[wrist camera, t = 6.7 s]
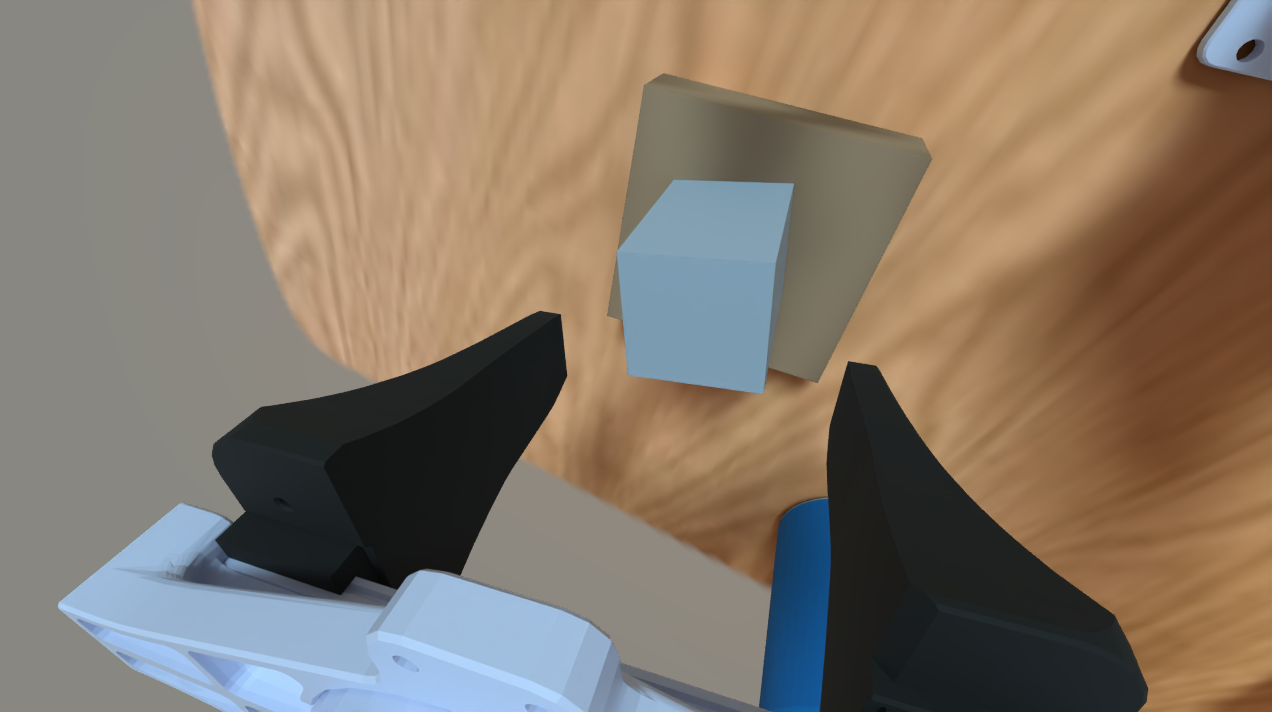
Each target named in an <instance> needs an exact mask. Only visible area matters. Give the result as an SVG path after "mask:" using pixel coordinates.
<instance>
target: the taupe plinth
mask: <svg viewBox="0 0 1272 712" xmlns="http://www.w3.org/2000/svg"><path fill="white" fill-rule="evenodd" d="M931 160H932V158H931V156H930V154H929V151H928V149H927V147H926V145H925V143H924V141H923V139H922V138H918V137H914V136H910V135H906V134H902V133H898V132H894V131H890V130H887V129H883V128H879V127H875V126H871V125H867V124H863V123H859V122H855V121H851V120H847V119H843V118H839V117H835V116H831V115H827V114H823V113H819V112H815V111H811V110H807V109H803V108H799V107H795V106H791V105H787V104H783V103H779V102H775V101H771V100H767V99H763V98H759V97H755V96H751V95H748V94H744V93H740V92H736V91H732V90H728V89H724V88H720V87H716V86H712V85H708V84H704V83H700V82H696V81H692V80H688V79H684V78H680V77H676V76H672V75H668V74H664V73H663V74H662V75H660V76H658V77H657V78H655V79H653V80H652V81H650V82H648V83H647V84H645V85H644V89H643V96H642V102H641V108H640V114H639V121H638V127H637V133H636V139H635V145H634V152H633V158H632V164H631V170H630V177H629V183H628V189H627V195H626V202H625V208H624V214H623V220H622V226H621V233H620V239H619V245H618V249H619V248H620V247H621V246H622V244H623V243H624V242H625V241H626V239H627V238H628V237H629V236H630V234H631V233H632V232H633V231H634V229H635V228H636V227H637V225H638V224H639V223H640V222H641V220H642V219H643V218H644V217H645V215H646V214H647V213H648V212H649V210H650V209H651V208H652V207H653V205H654V204H655V203H656V202H657V200H658V199H659V198H660V197H661V195H662V194H663V193H664V192H665V190H666V189H667V188H668V187H669V185H670V184H671V183H672V182H673V180H696V181H729V182H762V183H794V189H793V198H792V208H791V217H790V227H789V236H788V246H787V255H786V265H785V275H784V284H783V293H782V299H781V304H780V309H779V315H778V320H777V325H776V331H775V336H774V341H773V346H772V352H771V357H770V362H769V368H772V369H775V370H778V371H781V372H784V373H787V374H791V375H794V376H797V377H800V378H803V379H806V380H809V381H812V382H816V383H818V381H819V379H820V377H821V375H822V373H823V372H824V370H825V368H826V366H827V364H828V362H829V360H830V358H831V356H832V354H833V352H834V350H835V348H836V346H837V344H838V342H839V340H840V338H841V336H842V334H843V332H844V330H845V328H846V326H847V325H848V323H849V321H850V319H851V317H852V315H853V313H854V311H855V309H856V307H857V305H858V303H859V301H860V299H861V297H862V295H863V293H864V291H865V289H866V287H867V285H868V283H869V281H870V280H871V278H872V276H873V274H874V272H875V270H876V268H877V266H878V264H879V262H880V260H881V258H882V256H883V254H884V252H885V250H886V248H887V246H888V244H889V242H890V240H891V238H892V236H893V235H894V233H895V231H896V229H897V227H898V225H899V223H900V221H901V219H902V217H903V215H904V213H905V211H906V209H907V207H908V205H909V203H910V201H911V199H912V197H913V195H914V193H915V191H916V189H917V188H918V186H919V184H920V182H921V180H922V178H923V176H924V174H925V172H926V170H927V168H928V166H929V164H930V162H931ZM607 316H610V317H613V318H616V319H619V320H622V321H623V315H622V304H621V293H620V282H619V271H618V260H617V258H616V264H615V270H614V276H613V282H612V289H611V295H610V301H609V307H608V314H607Z"/></svg>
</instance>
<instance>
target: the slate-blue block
mask: <svg viewBox="0 0 1272 712" xmlns="http://www.w3.org/2000/svg"><path fill="white" fill-rule="evenodd" d="M793 189H794V183H762V182H729V181H696V180H673V182H672V183H671V184H670V185H669V187H668V188H667V189H666V190H665V192H664V193H663V194H662V195H661V197H660V198H659V199H658V200H657V202H656V203H655V204H654V205H653V207H652V208H651V209H650V210H649V212H648V213H647V214H646V215H645V217H644V218H643V219H642V220H641V222H640V223H639V224H638V225H637V227H636V228H635V229H634V231H633V232H632V233H631V234H630V236H629V237H628V238H627V239H626V241H625V242H624V243H623V244H622V246H621V247H620V248H619V249H618V251H617V260H618V271H619V282H620V293H621V304H622V315H623V326H624V337H625V348H626V359H627V369H628V375H630V376H637V377H645V378H652V379H659V380H666V381H673V382H680V383H687V384H695V385H702V386H709V387H716V388H723V389H730V390H738V391H745V392H752V393H759V394H764V389H765V384H766V378H767V373H768V368H769V362H770V357H771V352H772V346H773V341H774V336H775V331H776V325H777V320H778V315H779V309H780V304H781V299H782V293H783V284H784V275H785V265H786V255H787V246H788V236H789V227H790V217H791V208H792V198H793Z"/></svg>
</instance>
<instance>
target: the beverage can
mask: <svg viewBox="0 0 1272 712" xmlns="http://www.w3.org/2000/svg"><path fill="white" fill-rule="evenodd" d="M830 566H831V544H830V525H829V505H828V497H824V498H818V499H814V500H810V501H806V502H803V503H801V504H798V505H797V506H795V507H793V508H791V509H790V510H789V511H788V512H787V513H786V514H785V515H784V516H783V517H782V519H781V521H780V524H779V527H778V536H777V545H776V554H775V564H774V573H773V582H772V591H771V601H770V610H769V619H768V629H767V639H766V647H765V657H764V667H763V676H762V685H761V695H760V704H759V708H762V709H765V710H768V711H771V712H820V701H821V691H822V679H823V667H824V655H825V642H826V628H827V614H828V600H829V583H830Z"/></svg>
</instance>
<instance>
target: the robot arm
mask: <svg viewBox="0 0 1272 712" xmlns="http://www.w3.org/2000/svg"><path fill="white" fill-rule="evenodd" d="M1253 39H1254V40H1255V45H1256V46H1255V48H1254V50H1253V52H1251V53H1250V54H1249V55H1248V56H1247V57H1245V58H1243V59H1241V60H1237V58H1236V54H1237V52H1238V50H1239V48H1240V47H1241V46H1242V45H1243V44H1244V43H1246V42H1248V41H1250V40H1253ZM1197 58H1198V60H1199V62H1200V63H1202V64H1204V65H1206V66H1210V67H1213V68H1218V69H1222V70H1227V71H1231V72H1235V73H1240V74H1244V75H1249V76H1253V77H1257V78H1262V79H1266V80H1271V81H1272V0H1231V1H1230V2H1229V4H1228V5H1227V6H1226V8H1225V9H1224V11H1223V12H1222V13H1221V15H1220V16H1219V17H1218V19H1217V20H1216V21H1215V23H1214V24H1213V26H1212V27H1211V28H1210V30H1209V31H1208V32H1207V34H1206V35H1205V36H1204V38H1203V39H1202V41H1201V42H1200V44H1199V46H1198V48H1197ZM566 377H567V369H566V359H565V350H564V340H563V331H562V321H561V314H556V313H549V312H543V311H539V312H536V313H534V314H532V315H530V316H528V317H526V318H524V319H522V320H520V321H518V322H516V323H514V324H512V325H510V326H509V327H507V328H505V329H503V330H501V331H499V332H497V333H495V334H494V335H492V336H490V337H488V338H486V339H484V340H482V341H480V342H478V343H476V344H474V345H472V346H470V347H468V348H466V349H464V350H462V351H460V352H458V353H456V354H453V355H451V356H449V357H447V358H445V359H443V360H441V361H438V362H436V363H433V364H431V365H429V366H426V367H424V368H421V369H418V370H416V371H413V372H410V373H408V374H405V375H402V376H399V377H396V378H392V379H389V380H386V381H383V382H379V383H376V384H373V385H370V386H366V387H363V388H359V389H355V390H351V391H347V392H343V393H338V394H334V395H329V396H325V397H320V398H315V399H310V400H304V401H298V402H291V403H285V404H279V405H272V406H265V407H261V408H259V409H258V410H256V411H255V412H254V413H252V414H251V415H250V416H249V417H247V418H246V419H245V420H244V421H242V422H241V423H240V424H239V425H237V426H236V427H235V428H233V429H232V430H231V431H230V432H228V433H227V434H226V435H225V436H223V437H222V438H220V439H219V440H218V441H217V442H215V443H214V445H213V450H212V457H213V461H214V465H215V466H216V468H217V470H218V472H219V474H220V475H221V477H222V478H223V480H224V481H225V483H226V484H227V485H228V487H229V488H230V490H231V491H232V493H233V494H234V495H235V497H236V498H237V500H238V501H239V503H240V504H241V506H242V507H243V509H244V510H245V511H246V512H245V513H244V514H243V515H241V516H240V517H239V518H238V519H237V520H236V521H235V522H234V523H233V522H232V521H231V520H230V519H228V518H227V517H225V516H223V515H221V514H219V513H216V512H213V511H210V510H207V509H204V508H200V507H197V506H194V505H191V504H187V503H180V504H179V505H178V506H176V507H175V508H174V509H173V510H172V511H170V512H169V513H168V514H167V515H165V516H164V517H163V518H162V519H160V520H159V521H158V522H157V523H156V524H155V525H153V526H152V527H151V528H149V529H148V530H147V531H146V532H145V533H143V534H142V535H141V536H140V537H139V538H137V539H136V540H135V541H134V542H132V543H131V544H130V545H129V546H127V547H126V548H125V549H124V550H123V551H121V552H120V553H119V554H118V555H116V556H115V557H114V558H113V559H112V560H110V561H109V562H108V563H107V564H105V565H104V566H103V567H102V568H101V569H99V570H98V571H97V572H96V573H94V574H93V575H92V576H91V577H90V578H88V579H87V580H86V581H85V582H83V583H82V584H81V585H80V586H78V587H77V588H76V589H75V590H74V591H72V592H71V593H70V594H69V595H68V596H66V597H65V598H64V599H63V600H61V601H60V602H59V606H58V609H60V610H61V611H62V612H63V613H65V614H66V615H67V616H68V617H69V618H71V619H72V620H73V621H74V622H76V623H77V624H78V625H79V626H81V627H82V628H83V629H84V630H85V631H87V632H88V633H89V634H90V635H91V636H93V637H94V638H95V639H96V640H98V641H99V642H100V643H101V644H102V645H104V646H105V647H106V648H107V649H109V650H110V651H111V652H112V653H114V654H115V655H116V656H117V657H119V658H120V659H121V660H122V661H123V662H124V663H126V664H127V665H128V666H130V667H131V668H132V669H134V670H136V671H138V672H140V673H143V674H145V675H148V676H150V677H152V678H154V679H156V680H158V681H161V682H163V683H165V684H167V685H170V686H172V687H174V688H176V689H178V690H180V691H182V692H184V693H186V694H189V695H191V696H193V697H195V698H197V699H199V700H201V701H203V702H205V703H207V704H209V705H211V706H213V707H215V708H217V709H219V710H221V711H223V712H771V711H768V710H765V709H762V708H759V707H756V706H753V705H750V704H747V703H744V702H740V701H738V700H735V699H731V698H728V697H725V696H722V695H719V694H716V693H713V692H710V691H707V690H704V689H701V688H698V687H695V686H691V685H688V684H685V683H682V682H679V681H676V680H673V679H670V678H666V677H664V676H661V675H657V674H655V673H651V672H648V671H645V670H642V669H639V668H636V667H633V666H630V665H627V664H624V663H621V662H620V656H619V654H618V652H617V650H616V648H615V646H614V644H613V642H612V640H611V638H610V637H609V635H608V634H607V633H606V632H605V631H603V630H602V629H601V628H600V627H598V626H597V625H596V624H595V623H593V622H592V621H591V620H590V619H588V618H586V617H583V616H581V615H579V614H577V613H575V612H572V611H570V610H567V609H566V608H563V607H560V606H557V605H554V604H550V603H547V602H544V601H540V600H538V599H534V598H531V597H527V596H524V595H521V594H518V593H515V592H512V591H508V590H505V589H501V588H499V587H495V586H492V585H489V584H485V583H482V582H479V581H476V580H472V579H469V578H466V577H463V576H460V575H461V573H462V570H463V568H464V565H465V563H466V561H467V559H468V557H469V554H470V552H471V550H472V547H473V545H474V543H475V541H476V539H477V537H478V534H479V532H480V530H481V528H482V526H483V524H484V522H485V520H486V518H487V515H488V513H489V511H490V509H491V507H492V505H493V503H494V501H495V499H496V497H497V495H498V494H499V491H500V490H501V488H502V486H503V484H504V482H505V480H506V478H507V477H508V475H509V473H510V472H511V470H512V468H513V467H514V465H515V464H516V462H517V461H518V459H519V458H520V456H521V455H522V453H523V452H524V450H525V449H526V447H527V446H528V444H529V443H530V441H531V440H532V438H533V437H534V435H535V434H536V432H537V431H538V429H539V427H540V426H541V424H542V423H543V421H544V420H545V418H546V417H547V415H548V414H549V412H550V410H551V409H552V407H553V405H554V403H555V401H556V399H557V397H558V395H559V393H560V391H561V389H562V386H563V384H564V382H565V380H566ZM827 485H828V505H829V525H830V544H831V566H830V583H829V600H828V614H827V628H826V642H825V655H824V667H823V679H822V691H821V701H820V712H1138V711H1139V710H1140V709H1141V708H1142V707H1143V705H1144V704H1145V703H1146V702H1147V694H1148V687H1147V685H1146V682H1145V680H1144V678H1143V675H1142V673H1141V670H1140V668H1139V666H1138V663H1137V660H1136V658H1135V656H1134V653H1133V651H1132V649H1131V646H1130V644H1129V642H1128V640H1127V638H1126V636H1125V634H1124V633H1123V631H1122V629H1121V627H1120V625H1119V623H1118V621H1117V619H1116V617H1115V615H1114V614H1112V613H1111V612H1109V611H1108V610H1107V609H1105V608H1104V607H1102V606H1101V605H1100V604H1098V603H1097V602H1095V601H1094V600H1093V599H1091V598H1090V597H1089V596H1087V595H1086V594H1084V593H1083V592H1082V591H1080V590H1079V589H1077V588H1076V587H1075V586H1073V585H1072V584H1070V583H1069V582H1068V581H1066V580H1065V579H1063V578H1062V577H1061V576H1059V575H1058V574H1057V573H1055V572H1054V571H1053V570H1052V569H1050V568H1049V567H1048V566H1047V565H1045V564H1044V563H1043V562H1042V561H1040V560H1039V559H1038V558H1037V557H1036V556H1034V555H1033V554H1032V553H1031V552H1029V551H1028V550H1027V549H1026V548H1024V547H1023V546H1022V545H1021V544H1020V543H1019V542H1017V541H1016V540H1015V539H1014V538H1013V537H1012V536H1011V535H1009V534H1008V533H1007V532H1006V531H1005V530H1004V529H1003V528H1002V527H1000V526H999V525H998V524H997V523H996V522H995V521H994V520H993V519H992V518H991V517H990V516H989V515H988V514H987V513H986V512H985V511H984V510H982V509H981V508H980V507H979V506H978V505H977V504H976V503H975V502H974V501H973V500H972V499H971V498H970V497H969V496H968V495H967V493H966V492H965V491H964V490H963V489H962V488H961V487H960V486H959V485H958V484H957V482H956V481H955V480H954V479H953V478H952V477H951V476H950V475H949V474H948V472H947V471H946V470H945V469H944V468H943V467H942V465H941V464H940V463H939V462H938V460H937V459H936V458H935V456H934V455H933V454H932V452H931V451H930V450H929V448H928V447H927V446H926V444H925V443H924V442H923V440H922V439H921V437H920V436H919V435H918V433H917V432H916V430H915V429H914V427H913V426H912V424H911V423H910V421H909V420H908V418H907V417H906V415H905V413H904V412H903V410H902V409H901V407H900V405H899V404H898V402H897V400H896V399H895V397H894V395H893V394H892V392H891V390H890V388H889V386H888V385H887V383H886V381H885V379H884V377H883V376H882V374H881V372H880V370H879V369H878V367H877V366H874V365H868V364H862V363H856V362H850V361H848V364H847V367H846V371H845V374H844V378H843V381H842V385H841V388H840V392H839V395H838V399H837V402H836V406H835V409H834V413H833V416H832V420H831V423H830V428H829V439H828V451H827Z"/></svg>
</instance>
